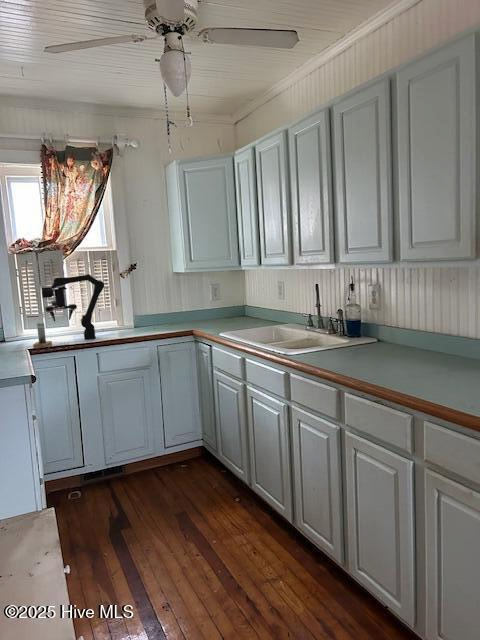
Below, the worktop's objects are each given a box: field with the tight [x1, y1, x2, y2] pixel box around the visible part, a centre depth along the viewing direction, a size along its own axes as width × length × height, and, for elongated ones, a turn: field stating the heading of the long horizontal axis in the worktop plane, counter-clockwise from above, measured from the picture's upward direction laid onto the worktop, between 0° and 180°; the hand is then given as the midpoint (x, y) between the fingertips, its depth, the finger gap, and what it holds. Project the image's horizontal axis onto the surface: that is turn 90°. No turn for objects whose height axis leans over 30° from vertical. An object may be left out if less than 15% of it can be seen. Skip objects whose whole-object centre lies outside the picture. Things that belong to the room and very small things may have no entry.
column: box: [36, 322, 47, 343], centre depth 293 cm, size 4×4×12 cm
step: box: [32, 340, 53, 349], centre depth 294 cm, size 9×9×2 cm
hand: (62, 321), depth 309 cm, fingers open, 9 cm apart
